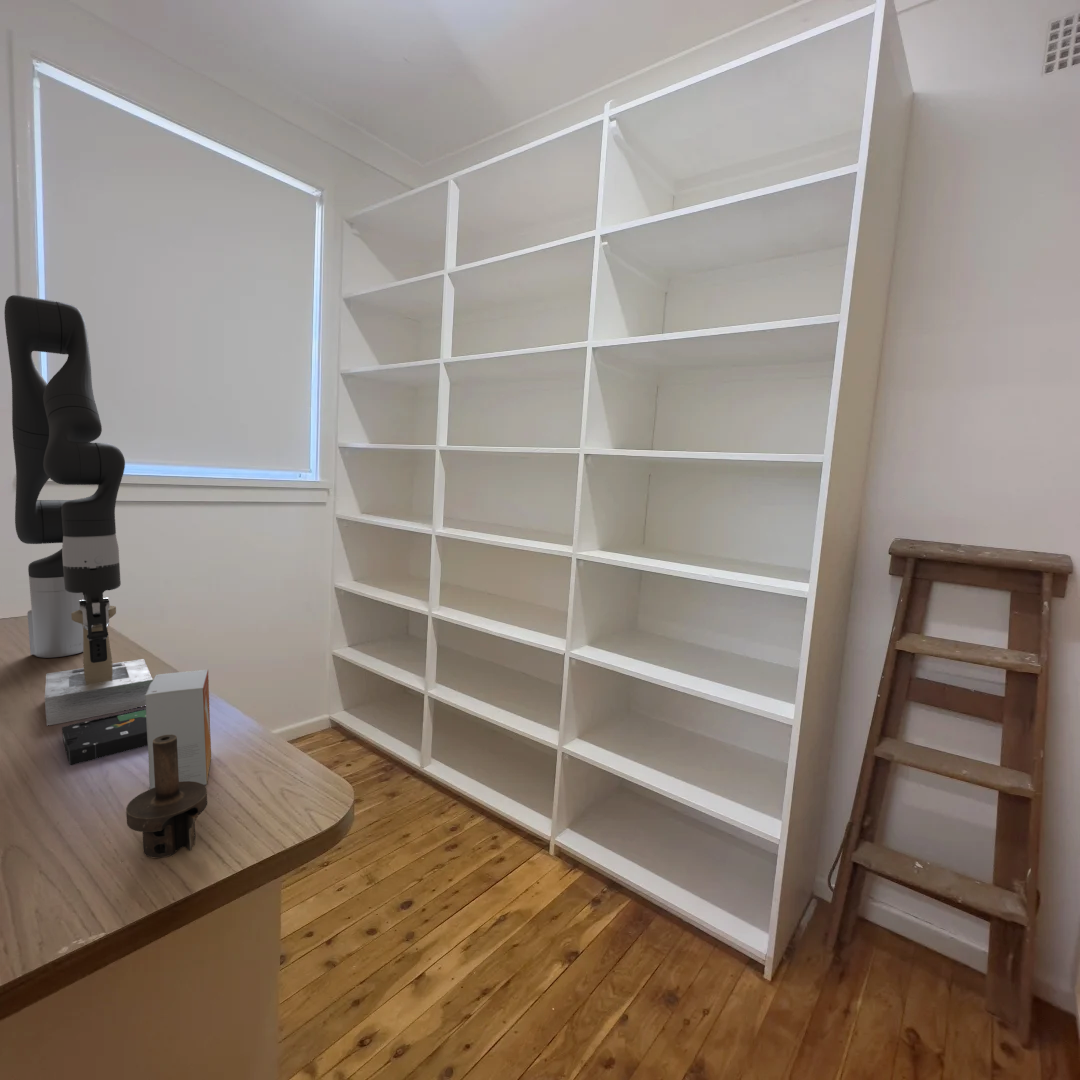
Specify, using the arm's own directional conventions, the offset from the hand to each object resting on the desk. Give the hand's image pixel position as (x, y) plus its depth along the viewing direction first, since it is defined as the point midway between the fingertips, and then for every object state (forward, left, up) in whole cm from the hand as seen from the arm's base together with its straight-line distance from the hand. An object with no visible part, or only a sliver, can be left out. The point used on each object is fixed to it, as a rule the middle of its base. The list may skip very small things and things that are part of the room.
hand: (97, 655), depth 98 cm
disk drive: (+15, -12, -9) cm, 21 cm away
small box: (+31, -21, -8) cm, 38 cm away
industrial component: (+39, -34, -8) cm, 52 cm away
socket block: (0, 0, -8) cm, 8 cm away
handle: (0, 0, -7) cm, 7 cm away
